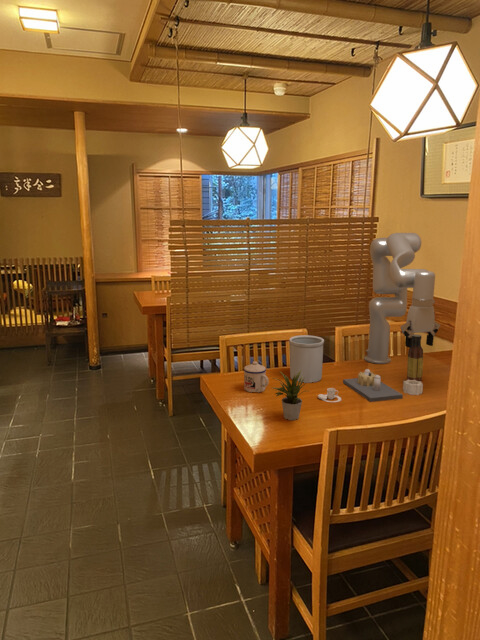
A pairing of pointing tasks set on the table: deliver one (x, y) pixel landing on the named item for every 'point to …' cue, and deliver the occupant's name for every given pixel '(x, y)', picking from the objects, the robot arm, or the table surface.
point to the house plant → (291, 397)
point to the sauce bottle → (415, 359)
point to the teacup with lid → (255, 377)
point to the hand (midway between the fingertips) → (418, 346)
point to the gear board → (372, 387)
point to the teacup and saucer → (329, 395)
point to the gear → (412, 387)
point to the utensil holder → (306, 357)
